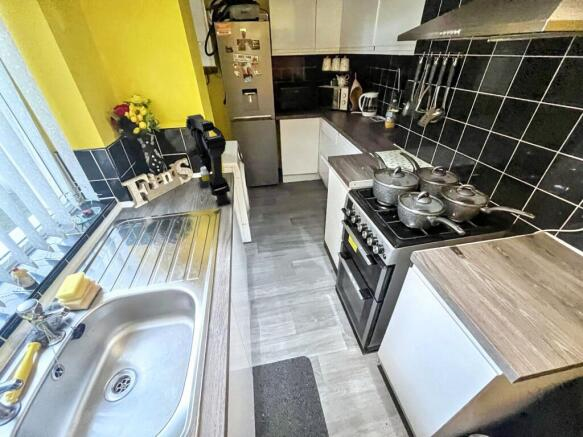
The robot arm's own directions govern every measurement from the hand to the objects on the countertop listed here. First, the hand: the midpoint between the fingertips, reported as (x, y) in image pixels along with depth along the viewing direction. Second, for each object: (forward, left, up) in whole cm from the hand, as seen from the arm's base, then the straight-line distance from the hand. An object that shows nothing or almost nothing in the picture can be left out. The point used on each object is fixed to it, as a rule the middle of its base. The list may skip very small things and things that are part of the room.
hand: (207, 169), depth 133 cm
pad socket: (+10, +1, -13) cm, 17 cm away
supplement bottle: (+10, +1, -13) cm, 16 cm away
